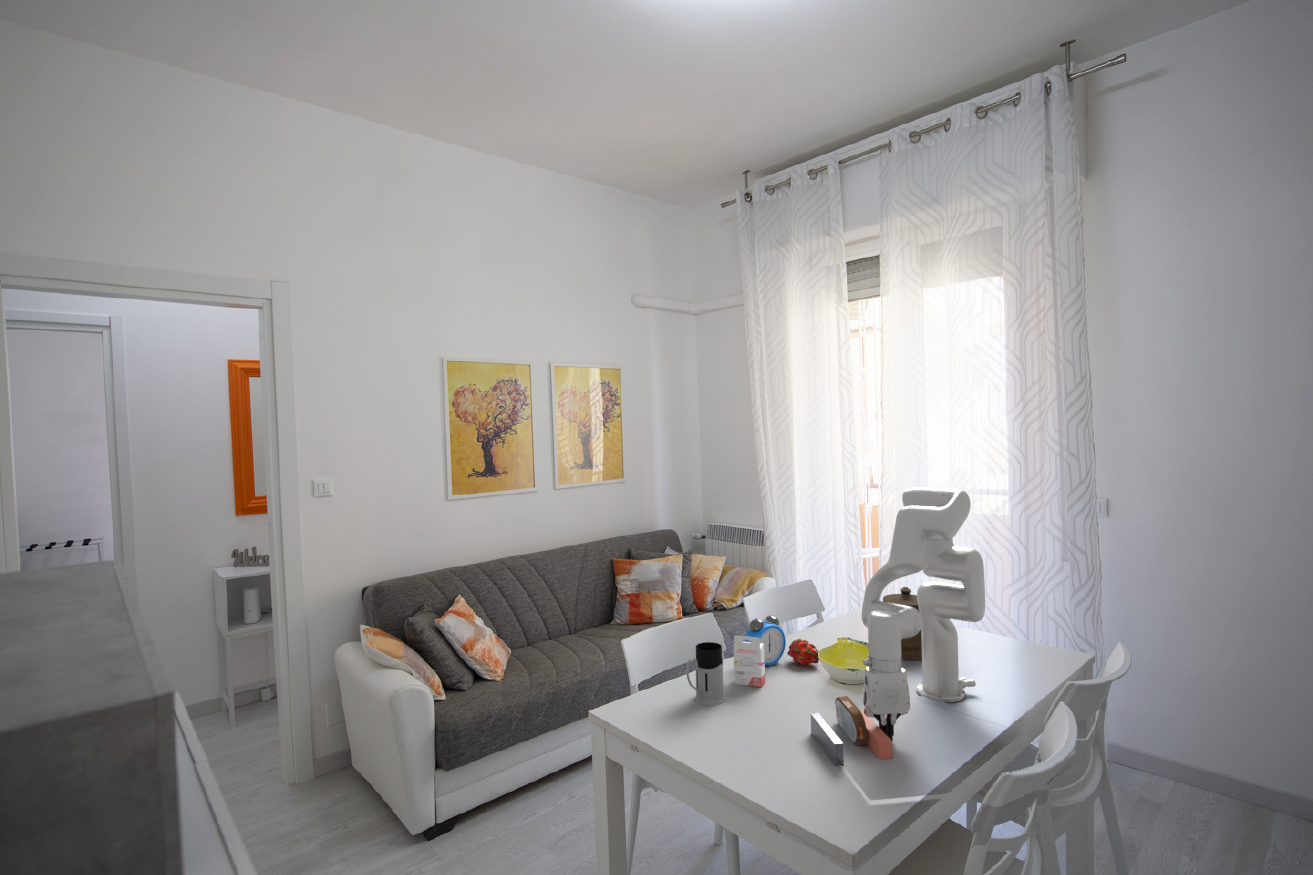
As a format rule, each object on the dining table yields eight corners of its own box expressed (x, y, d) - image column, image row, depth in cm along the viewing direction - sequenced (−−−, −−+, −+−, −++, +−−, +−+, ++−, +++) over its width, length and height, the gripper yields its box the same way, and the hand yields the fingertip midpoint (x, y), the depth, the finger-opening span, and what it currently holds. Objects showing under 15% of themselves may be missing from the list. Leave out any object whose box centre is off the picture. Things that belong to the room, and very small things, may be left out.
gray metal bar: (818, 732, 164) (818, 712, 164) (843, 765, 148) (843, 743, 148) (811, 733, 164) (810, 713, 164) (835, 765, 148) (834, 743, 148)
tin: (869, 751, 154) (868, 715, 154) (856, 752, 154) (855, 716, 154) (845, 722, 169) (844, 690, 169) (833, 723, 169) (833, 690, 169)
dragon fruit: (789, 663, 217) (819, 678, 208) (777, 653, 211) (807, 668, 202) (800, 639, 219) (830, 653, 210) (789, 630, 214) (819, 643, 205)
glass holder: (731, 697, 186) (730, 645, 186) (700, 714, 176) (698, 659, 176) (707, 689, 192) (706, 639, 192) (675, 705, 182) (674, 652, 182)
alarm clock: (756, 670, 207) (755, 623, 206) (743, 664, 212) (742, 618, 212) (786, 661, 213) (785, 616, 213) (774, 656, 219) (773, 611, 218)
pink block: (862, 726, 165) (862, 710, 165) (892, 757, 149) (891, 740, 149) (851, 727, 165) (851, 711, 165) (879, 758, 149) (879, 741, 149)
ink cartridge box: (765, 681, 197) (764, 633, 197) (762, 687, 193) (760, 638, 193) (738, 678, 201) (736, 630, 200) (733, 684, 196) (732, 635, 196)
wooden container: (879, 645, 227) (878, 582, 227) (924, 645, 225) (923, 582, 225) (889, 660, 213) (887, 592, 212) (936, 661, 210) (935, 593, 210)
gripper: (861, 670, 153) (863, 748, 153) (922, 666, 154) (924, 744, 154) (848, 659, 160) (850, 734, 160) (906, 655, 162) (908, 729, 162)
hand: (886, 738), depth 157 cm, fingers closed
